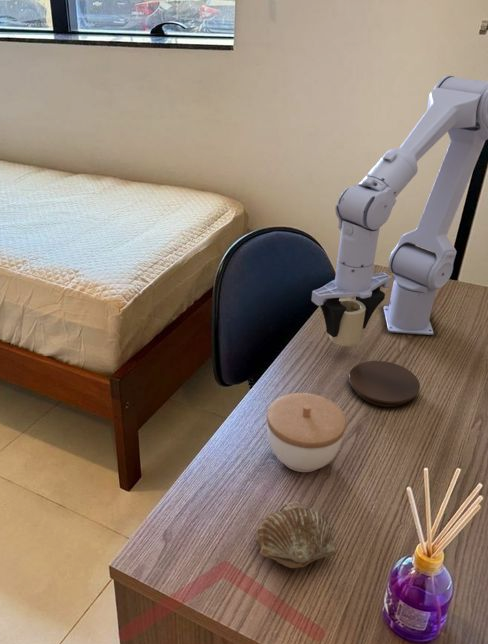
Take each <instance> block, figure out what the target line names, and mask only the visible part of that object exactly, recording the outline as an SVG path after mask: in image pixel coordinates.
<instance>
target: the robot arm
mask: <svg viewBox="0 0 488 644" xmlns="http://www.w3.org/2000/svg"><path fill="white" fill-rule="evenodd" d="M446 134H448V137H449V139H450V141H449V143H448V147H447V148H446V152H445V155H444V157H443V159H442V162H441V164H440V167H439V170H438V172H437V175H436V177H435V180H434V183H433V185H432V188H431V190H430V194H429V196H428V198H427V201H426V204H425V206H424V208H423V212H422V214H421V216H420V219H419V221H418V225H417V227H416V229H415V228H414V229H413V230H411V231H407V232H406V233H404V234H402V235H401V236H400V238H399V240H398V242H397V244H396V245H395V247H394V248H393V249H392V251H391V253H390V255H389V258H388V271H389V272H390V273H391V274H392V276H391V275H389V274H387V273H385V272H380V273H373V272H374V266H375V260H376V259H375V258H376V254H377V247H378V241H379V234H380V228H382V227H383V225H385V223H387V221H388V220H389V218H390V216H391V213H392V210H393V208H394V207H395V205H396V203H397V199H396V198H397V197H398V196H399V194H401V192H402V191H403V190H404V189H405V188H406V187H407V186H408V185H409V183H410V182H411V181H412V180H413V179H414V177H415V176H416V175H417V174H418V167H419V166H418V161H420V160H421V159H422V158H423V157H424V155H425V154H426V153H428V152H429V151H430V149H432V148H433V147H434V146H435V145H436V144H437V143H438V142H439V141H440V140H441V139H442V138H443V137H444V136H445V135H446ZM486 141H488V81H487V80H478V79H470V78H465V77H455V76H454V75H450V74H449V75H445V76H443V77H442V78H440V80H438V82H437V83H436V84H435V85H434V87H433V89H432V90H431V91H430V93H429V95H428V99H427V109H426V111H425V112H424V114H423V115H422V116H421V117H420V119H419V120H418V122H417V123H416V124H415V126H414V127H413V129H412V130H411V131H410V133H409V134H408V135H407V137H406V138H405V139H404V141H403V142H402V144H401V145H400V146H399V148H392V149H388V150H387V151H386V152H385V153H384V154H383V155H382V157H380V159H379V160H378V161H377V162H376V164H375V165H373V167H372V168H371V169H370V171H368V172H367V174H366V175H365V176H364V177H363V178H362V179H361V181H360V182H359V183H358V184H354V185H352V186H351V185H350V186H349V187H347V188H345V189H344V190H343V191H342V193H341V194H340V196H339V198H338V201H337V203H336V205H335V207H334V209H335V216H336V217H337V220H338V229H339V231H340V236H339V244H338V245H339V246H338V253H337V260H336V261H337V262H336V268H335V269H336V270H335V277H334V279H333V280H331V281H329V282H328V283H326V284H325V285H323V286H322V287H320V288H317V289H314V290H311V291H312V292H311V302H312V303H313V304H314V305H316V306H317V307H320V309H321V312H322V315H323V318H324V323H325V329H326V333H327V334H328V335H331V336H332V337H337V335H338V332H339V327H340V322H341V319H342V316H343V314H344V312H345V311H346V309H347V308H346V307H345V306H343V305H342V304H341V301H339V300H340V299H343V298H355V300H357V301H360V302H362V303H363V304H364V305H365V307H366V310H365V317H364V323H363V329H362V330H364V329H366V327H367V326H368V323H369V322H370V319H371V317H372V315H373V313H374V312H375V310H376V309H377V308H378V306H379V305H380V304H381V303H382V302H383V301H384V300H385V298H386V293H385V292H384V291H382V290H381V288H384V289H386V288H390V287H391V280H393V283H392V287H391V293H390V298H389V299H390V300H389V303H388V305H384V306H383V313H384V317H385V322H386V326H387V331H388V333H394V334H410V335H426V336H432V335H434V329H433V326H432V324H431V321H430V319H431V315H432V310H433V306H434V301H435V297H436V293H437V290H440V289H441V288H443V287H444V286H445V285H446V284H447V283H448V281H449V280H450V278H451V276H452V274H453V270H454V263H455V259H456V255H457V250H456V248H455V246H454V244H452V241H450V239H449V237H448V234H449V231H450V229H451V226H452V224H453V221H454V219H455V217H456V214H457V211H458V209H459V206H460V204H461V201H462V199H463V196H464V194H465V192H466V189H467V187H468V184H469V182H470V180H471V177H472V175H473V172H474V170H475V167H476V165H477V162H478V161H479V157H480V155H481V152H482V150H483V148H484V145H485V143H486Z"/></svg>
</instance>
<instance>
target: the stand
mask: <svg viewBox="0 0 488 644" xmlns="http://www.w3.org/2000/svg"><path fill="white" fill-rule="evenodd" d="M348 373H349V374H348V382H349V384H350V386H351V388H352V389H353V390H354V392H355V393H356V395H357V396H358V397H359V398H361V399H362V400H363V401H365V402H367V403H369V404H372V405H374V406H378V407H384V408H385V407H386V408H392V407H393V408H394V407H400V406H402V405H404V404H407V403H408V402H409V401H411V400H413V399H414V398H416V397H417V396H418V394H419V392H420V388H421V383H420V381H419V379H418V377H417V376H416V374H414V373H413V372H412V371H411V370H409V369H407V368H406V367H405V366H402V365H399V364H396V363H393V362H391V361H385V360H368V361H363V362H360V363H357V364H356V365H354V366H353V367H352V368H351V369H350V371H349V372H348Z"/></svg>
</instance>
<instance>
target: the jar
mask: <svg viewBox="0 0 488 644" xmlns="http://www.w3.org/2000/svg"><path fill="white" fill-rule="evenodd" d="M339 301H341V304H342V305H343V306H345V307H346V308H347V309H346V311H345V312H344V314H343V316H342V319H341V322H340V327H339V332H338V335H337V337H332V336H331V335H330V334H328V336H329V340H330V341H331V342H332V343H333V344H335V345H338V346H342V347H353V346H357V345H358V344H359V343H361V339H362V334H363V330H364V329H363V323H364V317H365V310H366V307H365V305H364V304H363V303H362V302H360V301H357V300H356V299H353V298H339Z"/></svg>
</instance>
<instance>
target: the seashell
mask: <svg viewBox="0 0 488 644" xmlns="http://www.w3.org/2000/svg"><path fill="white" fill-rule="evenodd" d="M253 537H254V541H255V543H256V544H257V545H258V547H259V549H260V551H259V555H260V556H261V557H263V558H269V559H272V560H274V561H275V562H277V563H278V564H281V565H282V566H284V567H286V568H290V569H298V568H304V567H306V566H308V565H309V564H311V563H312V562H315V561H318V560H320V559H322V558H327V557H331V556H335V555H337V553H338V550H337V547H336V546H335V543H334V541H333V534H332V530H331V525H330V523H329V521H328V520H327V518H326V517H325V515H323V514H322V513H321V512H320V511H317V510H315V509H313V508H309V507H307V506H305V504H304V503H301V502H298V501H295V502H289V503H287V504H285V505H283V506H282V507H281V509H279V510H278V511H275V512H271V513H270V514H269V515H265V517H264V518H262V519H261V522H259V526H258V527H257V529H256V531H255V533H254V536H253Z"/></svg>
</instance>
